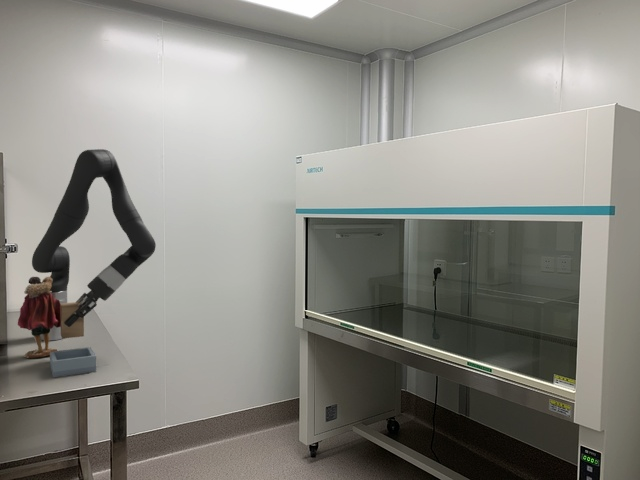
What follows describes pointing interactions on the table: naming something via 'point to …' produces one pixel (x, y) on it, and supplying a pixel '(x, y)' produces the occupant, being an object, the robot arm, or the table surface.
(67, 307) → the tan wooden block
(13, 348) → the table surface
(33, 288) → the figurine
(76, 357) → the open box
